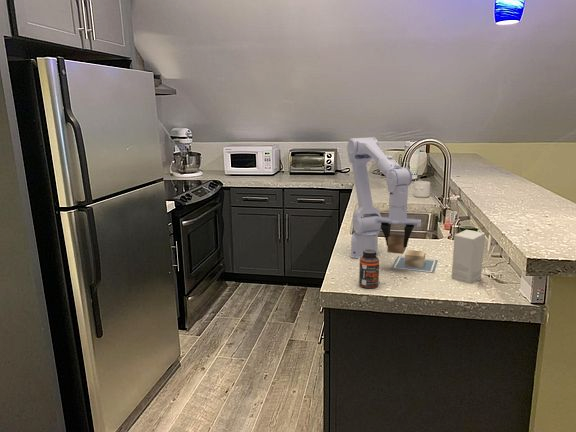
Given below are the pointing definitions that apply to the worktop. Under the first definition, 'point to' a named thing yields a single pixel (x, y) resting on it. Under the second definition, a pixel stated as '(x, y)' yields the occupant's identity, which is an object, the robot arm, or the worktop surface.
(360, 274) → the supplement bottle
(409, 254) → the maple base block
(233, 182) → the worktop surface
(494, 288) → the worktop surface
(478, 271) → the skincare box
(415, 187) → the mug
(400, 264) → the board
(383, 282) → the worktop surface
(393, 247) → the walnut cube
